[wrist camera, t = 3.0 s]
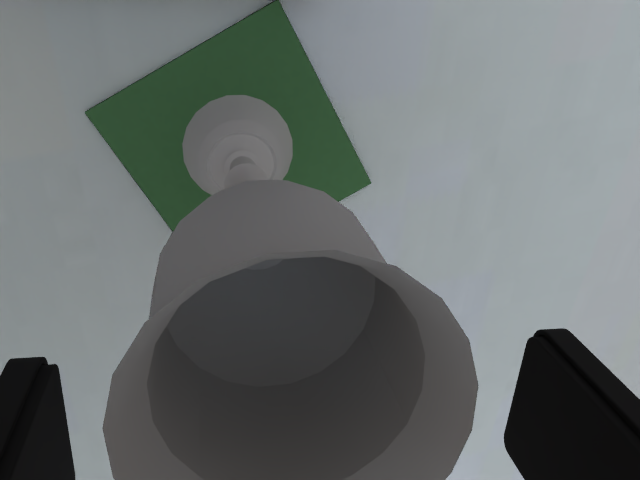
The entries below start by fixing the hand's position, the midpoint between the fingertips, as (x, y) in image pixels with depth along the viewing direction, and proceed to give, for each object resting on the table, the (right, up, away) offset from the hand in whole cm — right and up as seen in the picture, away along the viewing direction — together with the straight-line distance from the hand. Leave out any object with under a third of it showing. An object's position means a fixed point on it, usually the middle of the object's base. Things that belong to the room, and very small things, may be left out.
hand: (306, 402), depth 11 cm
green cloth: (-3, +7, +15) cm, 17 cm away
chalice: (-3, +7, +15) cm, 17 cm away
